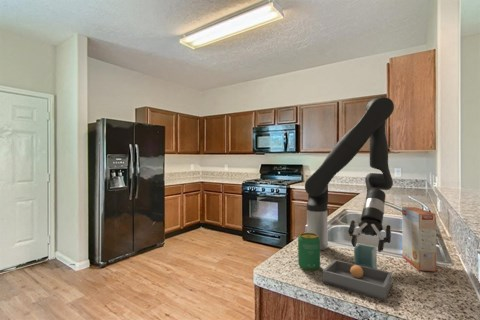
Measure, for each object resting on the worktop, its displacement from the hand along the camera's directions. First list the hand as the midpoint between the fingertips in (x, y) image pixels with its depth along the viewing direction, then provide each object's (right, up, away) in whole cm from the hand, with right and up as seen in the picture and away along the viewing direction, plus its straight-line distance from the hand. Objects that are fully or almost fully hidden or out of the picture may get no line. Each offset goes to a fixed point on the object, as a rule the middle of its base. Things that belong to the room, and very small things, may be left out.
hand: (366, 248), depth 93 cm
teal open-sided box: (-1, -8, -2) cm, 8 cm away
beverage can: (-20, -8, +3) cm, 22 cm away
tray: (-8, -8, -11) cm, 16 cm away
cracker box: (+22, -8, +4) cm, 24 cm away
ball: (-7, -5, -9) cm, 12 cm away
